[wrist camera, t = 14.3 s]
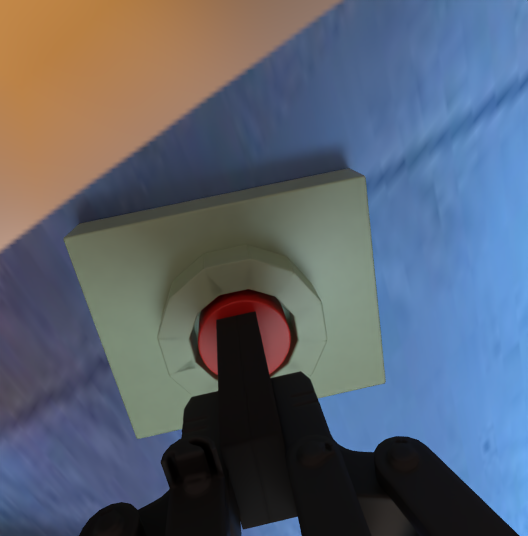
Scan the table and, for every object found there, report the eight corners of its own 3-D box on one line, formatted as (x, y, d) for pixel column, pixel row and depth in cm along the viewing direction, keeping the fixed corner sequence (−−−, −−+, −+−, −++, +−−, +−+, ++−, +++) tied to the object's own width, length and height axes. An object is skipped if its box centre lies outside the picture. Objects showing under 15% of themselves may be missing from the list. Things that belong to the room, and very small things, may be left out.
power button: (276, 274, 18) (283, 291, 16) (290, 349, 19) (297, 371, 18) (190, 293, 18) (187, 311, 16) (209, 366, 19) (209, 391, 18)
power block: (349, 167, 19) (382, 182, 16) (370, 358, 23) (401, 408, 19) (78, 223, 19) (45, 252, 15) (143, 409, 23) (130, 470, 19)
